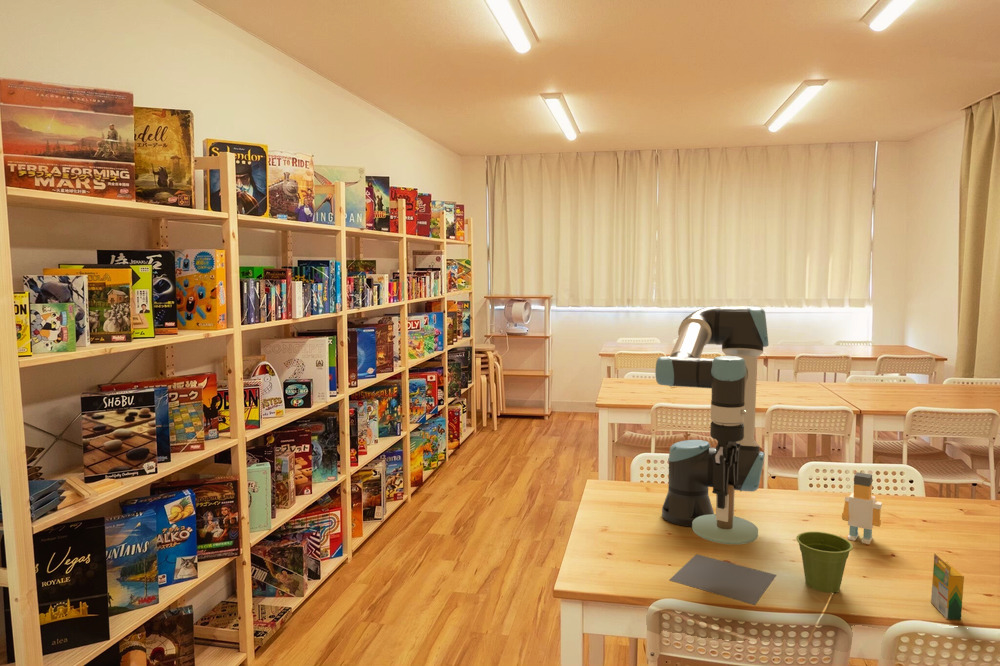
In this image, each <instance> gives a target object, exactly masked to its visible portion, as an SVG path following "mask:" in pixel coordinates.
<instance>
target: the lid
mask: <svg viewBox="0 0 1000 666" xmlns="http://www.w3.org/2000/svg"><path fill="white" fill-rule="evenodd" d="M727 494H729V509H728V522H725V521H720V520H716V513H714V514H709V515H703V516H699V517H697V518H695V519H694V520H693V522H692V527H691V529H692V531H693V532H694V534H696V535H697V536H698V537H699V538H702V539H704V540H707V541H709V542H713V543H715V544H716V543H717V544H723V545H745V544H750V543H753V542H754V541H756V540H758V537H759V528H758V527H757V525H756V524H755V523H753V522H751V521H749V520H747V519H744V518H743V517H740V516H735V515H734V516H733V498H734V499H735V494H734V486H733V485H730V484H728V491H727Z"/></svg>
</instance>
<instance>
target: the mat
mask: <svg viewBox="0 0 1000 666" xmlns="http://www.w3.org/2000/svg"><path fill="white" fill-rule="evenodd" d="M776 577H777V574H776V573H775V574H774V573H771V572H766V571H762V570H759V569H755V568H751V567H747V566H743V565H740V564H736V563H731V562H729V561H723V560H721V559H716V558H713V557H709V556H705V555H700V554H698V553H697V554H695V555H694V556H693V557H692V558H690V560H688V561H687V563H685V565H683V566H682V567H681V568H680V569H679V570H677V572H676V573H675V574H674V575H673V576H672V577H671V578H670V579H669V581H670V582H673V583H677V584H681V585H685V586H688V587H691V588H695V589H698V590H701V591H705V592H708V593H712V594H715V595H718V596H721V597H725V598H728V599H733V600H735V601H739V602H742V603H746V604H749V605H754V606H756V604H757V603H758V602H759V600H760V598H761V597H762V596H763V595H764V594H765V592H766V590H767V589H768V587H769V586H770V585H771V584H772V582H773V580H774V579H775V578H776Z"/></svg>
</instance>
